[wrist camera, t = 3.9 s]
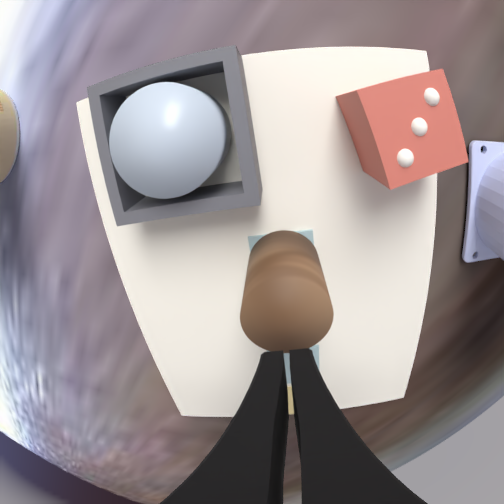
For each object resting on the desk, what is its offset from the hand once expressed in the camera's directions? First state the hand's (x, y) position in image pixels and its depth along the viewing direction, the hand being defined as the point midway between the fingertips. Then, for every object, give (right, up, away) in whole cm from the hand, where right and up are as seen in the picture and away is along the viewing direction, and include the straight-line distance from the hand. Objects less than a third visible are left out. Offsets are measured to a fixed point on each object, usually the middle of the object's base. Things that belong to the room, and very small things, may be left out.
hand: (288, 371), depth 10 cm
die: (+5, +10, +4) cm, 12 cm away
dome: (-5, +10, +4) cm, 11 cm away
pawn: (0, +3, +7) cm, 8 cm away
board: (0, +2, +9) cm, 10 cm away
